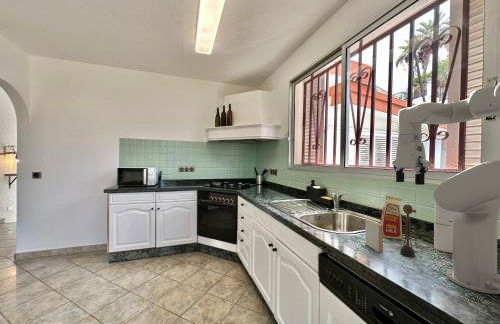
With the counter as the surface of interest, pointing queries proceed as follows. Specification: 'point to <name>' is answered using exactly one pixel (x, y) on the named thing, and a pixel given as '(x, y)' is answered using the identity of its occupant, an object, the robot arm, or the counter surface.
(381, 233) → the tile
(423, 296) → the counter surface
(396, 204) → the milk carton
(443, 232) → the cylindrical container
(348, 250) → the counter surface
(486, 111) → the robot arm
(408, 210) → the wooden tabletop sculpture
